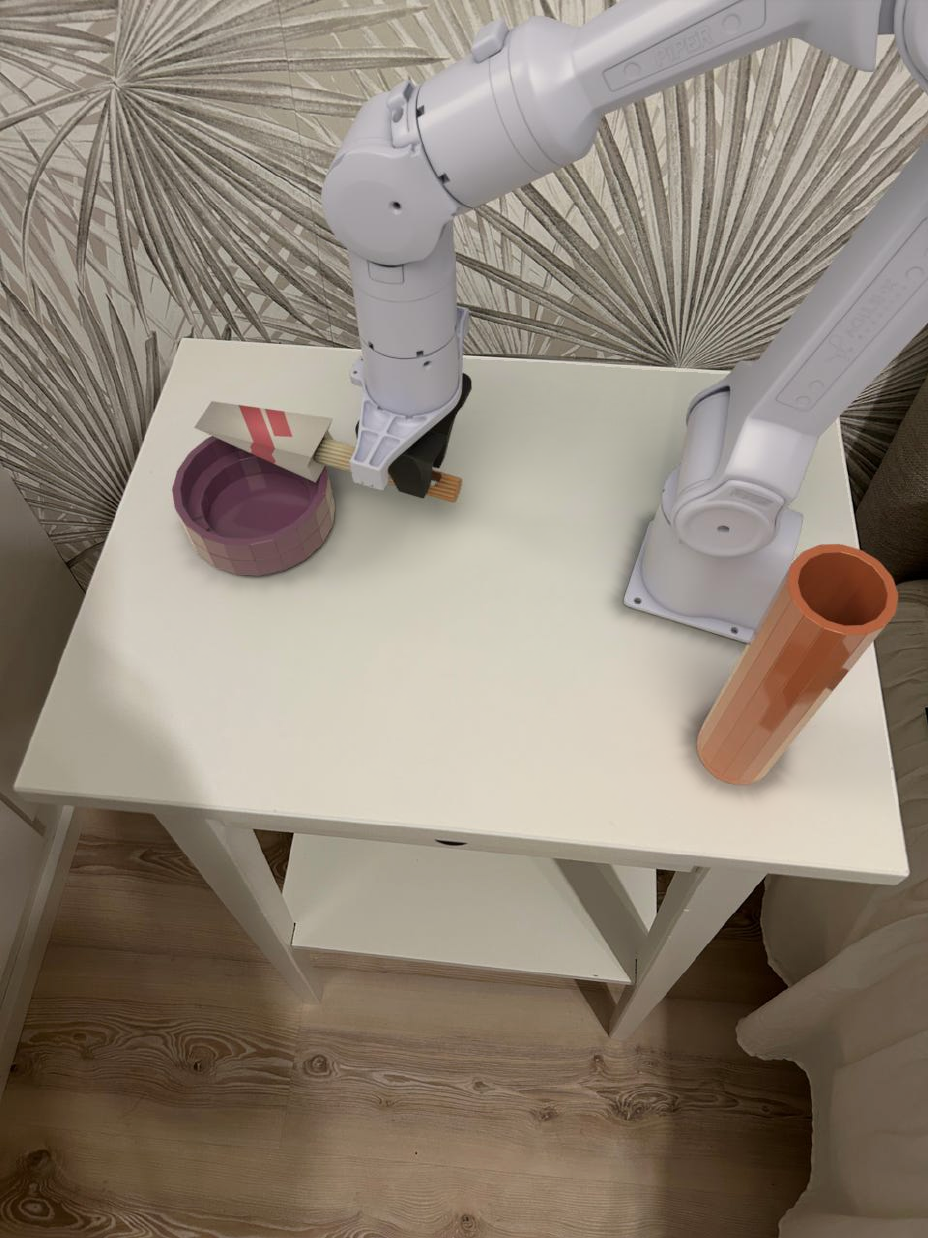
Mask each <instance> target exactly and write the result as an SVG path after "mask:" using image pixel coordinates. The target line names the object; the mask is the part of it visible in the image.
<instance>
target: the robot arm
mask: <svg viewBox="0 0 928 1238" xmlns="http://www.w3.org/2000/svg"><path fill="white" fill-rule="evenodd" d="M881 35H883V36H884V35H894V42H895V46H896V48H897V49H896V50H897V52H898V55H899V57H900V59H901V61H902V63H903V65H904V66H905V68H906V70H907V71H908V73H909V74H910V75H911V77H912V78H913V80H914V81H915V83H916V84H917V85H918V86H919V88H921V90H922V91H923V92H924V93H925V94H926V95H927V96H928V0H620V1H618V2H616V3H614V4H613V5H611V6H610V7H608V8H606V9H605V10H604V11H602V12H600V13H599V14H598V15H595V16H594V17H593V18H591V19H590V20H588V21H587V22H585V23H584V24H582V25H580V26H573V25H570V24H568V23H565V22H563V21H560V20H557V19H555V18H552V17H550V16H545V15H534V16H531V17H529V18H528V19H526V20H525V21H523V22H521V23H520V24H518V25H516V26H514V27H513V28H509V27H508V25H507V23H506V21H505V19H504V18H503V17H501V16H500V17H497V18H495V19H494V20H492V21H490V22H489V23H487V24H486V25H484V26H482V27H480V28H479V29H478V30H477V32H476V35H475V37H474V39H473V40H472V41H473V42H472V44H471V46H470V52H471V53H468V54H467V55H466V56H464V57H462V58H460V59H458V60H457V61H455V62H454V63H452V64H451V65H449V66H447V67H445V68H444V69H442V70H440V71H438V72H437V73H435V74H433V75H432V76H431V77H428V78H427V79H426V80H424V81H422V82H421V83H418V84H417V85H416V86H415V85H414V84H413V82H412V81H411V80H410V79H407V78H406V79H404V80H402V81H401V82H400V83H397V84H396V85H395V86H393V87H392V88H391V90H386V91H382V92H379V93H377V94H375V95H373V96H371V97H370V98H369V99H368V100H366V101H365V102H364V104H363V105H362V106H361V107H360V108H359V111H358V112H357V114H356V116H355V117H354V119H353V121H352V123H351V125H350V127H349V129H348V131H347V133H346V135H345V137H344V138H343V140H342V142H341V145H340V146H339V148H338V150H337V152H336V154H335V156H334V158H333V160H332V162H331V164H330V165H329V167H328V169H327V172H326V175H325V177H324V181H323V183H322V187H321V192H320V204H321V205H320V206H321V210H322V214H323V217H324V220H325V222H326V224H327V226H328V228H329V229H330V231H331V232H332V235H334V236H335V238H336V239H337V240H338V241H339V242H340V243H341V244H342V246H344V247H345V248H346V251H347V258H348V269H349V274H350V275H349V276H350V282H351V288H352V290H351V291H352V296H353V297H352V298H353V303H354V311H355V316H356V324H357V330H358V336H359V337H358V338H359V343H360V344H359V345H360V350H361V355H359V356H358V357H357V358H356V360H355V362H354V363H353V365H352V366H351V368H350V370H349V372H348V374H349V375H348V376H349V381H350V383H351V384H353V385H354V386H358V387H360V388H362V389H361V399H360V408H359V409H360V410H359V419H358V420H357V422H356V425H355V427H354V428H355V429H354V431H355V438H356V444H355V446H354V447H355V450H354V453H353V455H352V457H351V459H350V461H349V462H350V468H351V472H350V473H351V478H352V482H353V483H356V484H359V485H361V486H365V487H367V488H371V489H376V490H378V491H384V490H385V489H386V487H387V485H388V484H389V483H388V481H389V477H388V473H389V475H390V476H391V478H392V480H393V482H394V484H395V485H394V486H395V487H396V489H397V491H398V493H403V494H406V495H408V496H412V497H415V498H419V499H425V498H426V496H427V495H426V494H427V492H428V490H429V487H430V485H431V484H432V481H431V478H432V469H433V468H436V469H440V468H441V466H442V465H443V463H444V460H445V457H446V455H447V450H448V447H449V443H450V438H451V435H452V430H453V427H454V424H455V420H456V418H457V415H458V413H459V412H460V410H461V409H462V408H463V407H464V405H465V403H466V401H467V399H468V397H469V395H470V393H471V391H472V389H473V387H472V385H473V383H472V379H471V377H470V376H469V375H468V374H467V373H465V372H463V370H464V369H463V366H464V365H463V364H464V363H463V362H464V340H466V338H467V336H468V334H469V332H470V308H468V307H464V306H462V305H461V306H460V305H458V295H457V293H458V291H457V289H458V288H457V253H456V248H455V247H456V246H455V238H454V235H455V234H454V233H455V232H454V220H455V218H456V217H457V216H461V215H463V214H466V213H470V212H471V211H473V210H476V209H478V208H480V207H482V206H484V205H487V204H489V203H490V202H493V201H495V200H497V199H499V198H501V197H504V196H506V195H508V194H509V193H512V192H514V191H517V190H518V189H520V188H522V187H525V186H527V185H529V184H531V183H534V182H536V181H537V180H539V179H542V178H544V177H545V176H547V175H550V174H552V173H555V172H557V171H559V170H561V169H564V168H566V167H567V166H569V165H571V164H574V163H576V162H578V161H580V160H583V159H584V158H585V157H586V156H587V155H588V154H589V153H590V152H591V149H592V147H593V145H594V143H595V141H596V138H597V134H598V131H599V128H600V125H601V122H602V119H603V117H605V116H606V115H608V114H611V113H612V112H615V111H618V110H619V109H622V108H625V107H627V106H630V105H633V104H635V103H637V102H639V101H642V100H644V99H647V98H649V97H651V96H653V95H656V94H658V93H661V92H663V91H665V90H666V91H667V90H668V89H670V88H672V87H675V86H677V85H679V84H682V83H684V82H687V81H689V80H692V79H694V78H696V77H699V76H701V75H703V74H706V73H708V72H710V71H711V72H712V71H713V70H716V69H719V68H720V67H723V66H726V65H727V64H730V63H733V62H735V61H737V60H740V59H742V58H744V57H746V56H749V55H751V54H754V53H756V52H758V51H761V50H763V49H766V48H768V47H771V46H773V45H775V44H777V43H780V42H782V41H785V40H788V39H797V40H801V41H802V42H804V43H806V44H808V45H810V46H812V47H814V48H816V49H818V50H819V51H821V52H823V53H825V54H828V55H829V56H831V57H833V58H835V59H837V60H838V61H840V62H842V63H844V64H847V65H848V66H850V67H852V68H854V69H856V70H857V71H861V72H865V73H874V72H875V71H876V65H877V64H876V63H877V50H878V49H877V48H878V47H877V46H878V36H881ZM926 325H928V136H927V137H926V138H925V139H924V141H923V142H922V143H921V145H919V147H918V148H917V150H916V151H915V153H913V155H912V157H911V158H910V159H909V160H908V162H907V163H906V164H905V165H904V167H903V168H902V170H901V171H900V172H899V173H898V175H897V176H896V177H895V178H894V180H893V182H892V183H891V184H890V185H889V187H888V188H887V189H886V191H885V192H884V193H883V194H882V196H881V197H880V198H879V200H878V201H877V202H876V203H875V205H874V206H873V208H871V210H870V212H869V213H868V214H867V215H866V217H865V218H864V220H862V222H861V223H860V225H859V226H858V228H857V229H855V231H854V232H853V234H852V235H851V237H850V238H849V239H848V240H847V242H846V243H845V244H844V246H843V247H842V248H841V250H840V251H839V252H838V254H837V255H836V257H834V259H833V260H832V262H831V263H830V264H829V266H828V267H827V268H826V269H825V271H823V274H822V275H821V276H820V277H819V279H818V280H817V281H816V283H815V284H814V286H812V288H811V289H810V291H809V292H808V293H807V295H806V296H805V297H804V299H802V301H801V303H800V304H799V305H798V307H796V309H795V310H794V312H793V313H792V314H791V315H790V317H789V318H788V320H787V321H786V322H785V324H784V325H783V326H782V327H781V329H780V330H779V331H778V333H777V334H776V335H775V337H774V338H773V340H772V341H771V342H770V343H769V345H768V346H767V347H766V348H765V350H764V351H763V353H761V355H760V357H759V358H757V360H756V361H754V360H740V361H738V362H736V364H735V366H734V367H733V368H732V370H730V372H729V373H728V374H727V375H726V376H725V377H724V378H722V379H721V380H719V381H718V382H716V383H714V384H712V385H710V386H708V387H706V388H704V389H702V390H701V391H700V392H698V394H696V396H694V398H692V400H691V401H690V403H689V405H688V407H687V409H686V415H685V424H686V432H685V437H684V445H683V449H682V456H681V462H679V464H678V465H676V467H675V468H674V469H673V470H672V472H670V474H669V475H668V477H667V478H666V480H665V482H664V485H663V488H662V492H661V496H660V498H659V503H658V505H657V509H656V512H655V515H654V519H652V520H651V521H649V523H648V526H647V529H646V532H645V535H644V537H643V541H642V543H641V546H640V549H639V552H638V554H637V558H636V561H635V563H634V567H633V570H632V573H631V576H630V578H629V582H628V585H627V588H626V591H625V594H624V597H623V604H624V605H625V606H626V607H628V608H631V609H635V610H638V611H642V612H643V613H648V614H651V615H654V616H657V617H660V618H663V619H666V620H670V621H673V622H676V623H680V624H683V625H686V626H690V627H692V628H696V629H699V630H703V631H704V632H705V631H706V632H709V633H712V634H716V635H719V636H721V637H726V638H728V639H731V640H735V641H737V642H742V643H745V644H747V643H748V642H749V640H750V638H751V636H752V634H753V632H754V631H755V629H756V627H757V625H758V623H759V622H760V620H761V618H762V616H763V614H764V613H765V611H766V609H767V607H768V605H769V604H770V602H771V600H772V598H773V596H774V594H775V593H776V591H777V589H778V587H779V585H780V584H781V582H782V580H783V578H784V576H785V575H786V573H787V571H788V569H789V567H790V566H791V564H792V563H793V561H794V557H795V553H796V551H797V548H798V545H799V540H800V536H801V533H802V529H803V523H804V514H803V513H801V512H800V511H797V510H794V509H792V508H790V507H789V506H790V505H791V504H792V503H793V502H794V501H795V500H796V498H797V497H798V494H799V493H800V490H801V487H802V485H803V481H804V480H805V476H806V474H807V471H808V469H809V465H810V463H811V460H812V458H813V455H814V452H815V449H816V446H817V445H818V444H817V443H818V442H819V439H820V437H821V436H822V435H823V434H824V433H825V432H826V431H827V430H828V429H829V428H830V427H831V426H832V425H833V423H834V422H835V421H836V420H837V419H838V418H839V417H840V416H841V415H842V414H843V413H844V412H846V410H847V409H848V408H849V406H851V404H852V403H854V401H855V400H856V399H857V398H859V396H860V395H862V393H863V392H864V391H865V390H866V389H867V388H868V386H870V385H871V383H872V382H873V381H874V380H875V379H876V378H877V377H878V376H879V375H880V374H881V373H882V372H883V371H884V370H885V369H886V368H887V367H888V366H889V364H891V362H892V361H893V360H894V359H895V358H897V356H898V355H899V354H900V353H901V352H902V351H903V350H904V349H905V348H906V347H907V346H908V345H909V343H910V342H911V341H912V340H914V338H915V337H916V336H917V335H918V334H919V333H920V332H922V330H923V329H924V328H925V327H926ZM433 470H434V469H433ZM636 601H637V602H639V603H636ZM732 631H735V633H734V632H732Z"/></svg>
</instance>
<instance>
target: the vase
mask: <svg viewBox="0 0 928 1238" xmlns="http://www.w3.org/2000/svg"><path fill="white" fill-rule="evenodd" d="M898 602H899V593H898V589H897V586H896V583H895V579H894V577H893V576H892V574H891V573H890V572H889V571H888V570H887V569H886V567H885V566H884V565H883V564H882V563H881V561H879V560H878V559H877V558H875V557H873V556H872V555H870V554H869V553H867V552H866V551H864V550H861V549H860V548H856V547H852V546H849V545H845V544H841V543H829V544H828V543H827V544H825V543H824V544H818V545H815V546H813V547H811V548H808V549H806V550H803V551H802V552H800V554H799V555H798V556H797V557H796V558H795V559H793V561H792V562H791V565H790V567H789V569H788V571H787V573H786V575H785V576H784V578H783V580H782V582H781V584H780V585H779V587H778V589H777V591H776V593H775V594H774V596H773V598H772V600H771V602H770V604H769V605H768V607H767V609H766V611H765V613H764V614H763V616H762V618H761V620H760V622H759V623H758V625H757V627H756V629H755V631H754V632H753V634H752V636H751V638H750V640H749V642H748V643H746V646H745V647H744V649H743V650H742V652H741V654H740V655H739V658H738V660H737V661H736V663H735V665H734V666H733V669H732V670H731V672H730V674H729V676H728V677H727V680H726V681H725V683H724V685H723V687H722V688H721V691H720V692H719V694H718V696H717V697H716V699H715V701H714V703H713V705H712V707H711V709H710V710H709V712H708V714H707V715H706V717H705V719H704V721H703V723H702V725H701V727H700V730H699V732H698V734H697V739H696V750H697V754H698V755H697V756H698V758H699V760H700V761H701V764H702V765H703V766H704V768H705V769H706V770H707V772H709V773H710V774H711V775H712V776H714V778H716V779H718V780H720V781H722V782H724V783H726V784H731V785H736V786H746V785H750V784H754V783H756V782H758V781H761V780H762V779H763V778H764V777H765V776H766V775H767V774H768V773H769V771H770V770H771V769H772V768H773V767H774V765H776V763H777V762H778V761H779V760H780V758H781V757H782V756H783V754H784V753H785V752H786V751H787V749H788V748H789V747H790V746H791V744H792V743H793V742H794V741H795V739H796V738H797V737H798V736H799V734H800V733H801V732H802V731H803V729H804V728H805V727H806V726H807V724H808V723H809V722H810V721H811V720H812V718H813V717H814V716H815V714H816V713H817V712H818V710H819V709H820V708H821V707H822V706H823V704H824V703H825V702H826V701H827V700H828V698H829V697H830V696H831V694H833V692H834V691H835V690H836V688H837V687H838V686H839V685H840V683H841V682H842V681H843V679H844V678H845V677H846V676H847V675H848V674H849V672H850V671H851V670H852V669H853V667H854V666H855V665H856V663H857V662H858V661H859V659H860V658H861V657H862V656H863V655H864V653H865V652H866V651H867V650H868V648H870V646H871V645H872V643H873V642H874V641H875V640H876V638H877V637H878V636H879V635H880V634H881V632H882V631H883V630H884V629H885V627H886V626H887V625H888V623H889V622H890V621H891V619H893V618H894V616H895V615H896V613H897V608H898Z"/></svg>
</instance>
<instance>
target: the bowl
mask: <svg viewBox="0 0 928 1238" xmlns="http://www.w3.org/2000/svg"><path fill="white" fill-rule="evenodd" d="M173 480H174V481H173V483H172V484H173V485H172V489H171V491H172V498H173V499H172V500H173V506H174V510H175V512H176V515H177V517H178V518H179V520H180V522H181V525H182V526H183V529H184V531H185V533H186V535H187V537H188V539H189V541H190V543H191V545H192V546H193V548H194V549H195V551H196V552H197V554H198V556H200V557H201V558H202V559H203V560H205V561H206V562H207V563H208V564H210V565H211V566H213V567H214V568H216V569H219V570H222V571H224V572H227V573H231V574H234V575H237V576H265V575H266V576H267V575H269V574H274V573H278V572H283V571H286V570H288V569H290V568H292V567H294V566H295V565H297V564H299V563H301V562H303V561H305V560H306V559H308V558H309V557H310V556H311V555H312V554H313V553H314V552H316V550H317V549H319V548H320V547H321V546H322V545H323V544H324V541H325V540H326V538H327V536H328V535H329V532H330V531H331V529H332V528H333V524H334V518H335V511H336V503H335V498H334V493H333V489H332V486H331V484H332V483H331V479H330V475H329V471H328V467H327V465H325V467H324V468H323V470H322V472H321V474H320V476H319V478H318V479H317V481H316V482H314V481H311V480H309V479H307V478H305V477H302V476H300V475H298V474H296V473H294V472H291V471H289V470H287V469H285V468H282V467H280V466H278V465H276V464H274V463H271V462H269V461H267V460H265V459H262V458H260V457H258V456H256V455H254V454H251V453H249V452H247V451H245V450H242V449H240V448H238V447H236V446H234V445H231V444H229V443H227V442H225V441H222V440H220V439H218V438H216V437H214V436H211V435H210V436H209V437H207V438H205V439H204V440H203V441H202V442H200V443H199V444H197V446H195V448H193V449H192V450H191V451H189V453H188V454H187V455H186V456H185V458H184V459H183V461H182V462H181V464H180V466H179V467H178V468H177V470H176V474H175V477H174V479H173Z"/></svg>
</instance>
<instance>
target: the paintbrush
mask: <svg viewBox="0 0 928 1238" xmlns="http://www.w3.org/2000/svg"><path fill="white" fill-rule="evenodd" d="M333 420H334V418H332V417H327V416H326V417H325V416H318V415H312V414H306V413H305V414H304V413H299V412H290V411H284V410H276V409H271V408H263V407H256V406H249V405H243V404H235V403H229V402H221V401H215V400H211V401H210V402H209V404H208V405H207V408H206V409H205V410H204V411H203V414H202V415H201V416H200V418H199V420H197V422H196V424H195V425H194V427H193V428H194V429H196V430H198V431H201V432H203V433H205V434H207V435H208V436H210V437H211V436H214V437H216V438H218V439H220V440H222V441H225V442H227V443H229V444H231V445H234V446H236V447H238V448H240V449H242V450H245V451H247V452H249V453H251V454H254V455H256V456H258V457H260V458H262V459H265V460H267V461H269V462H271V463H274V464H276V465H278V466H280V467H282V468H285V469H287V470H289V471H291V472H294V473H296V474H298V475H300V476H302V477H305V478H307V479H309V480H311V481H314V482H316V481H317V479H318V478H319V476H320V474H321V472H322V470H323V468H324V467H325V465H326V466H328V467H330V468H331V467H332V468H336V469H339V470H341V471H342V470H343V471H346V472H349V473H351V468H350V462H349V461H350V459H351V457H352V455H353V453H354V450H355V447H356V446H353V445H350V444H348V443H344V442H341V441H338V440H334V438H333V436H332V435H331V433H330V431H329V429H330V427H331V425H332V422H333ZM388 477H389V481H388V483H387V484H388V485H393V486H395V484H394V482H393V480H392V478H391V476H390V475H389V473H388ZM432 481H433V482H435V483H434V484H433V485H431V484H430V487H429V490H428V492H427V494H426V496H428V497H432V498H435V499H438V500H442V501H445V502H449V503H452V504H454V503H456V502H457V500H458V498H459V496H460V493H461V490H462V486H463V478H462V477H460V476H456V475H453V474H450V473H446V472H442V471H439V470H436V469H432V478H431V482H432Z"/></svg>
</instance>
